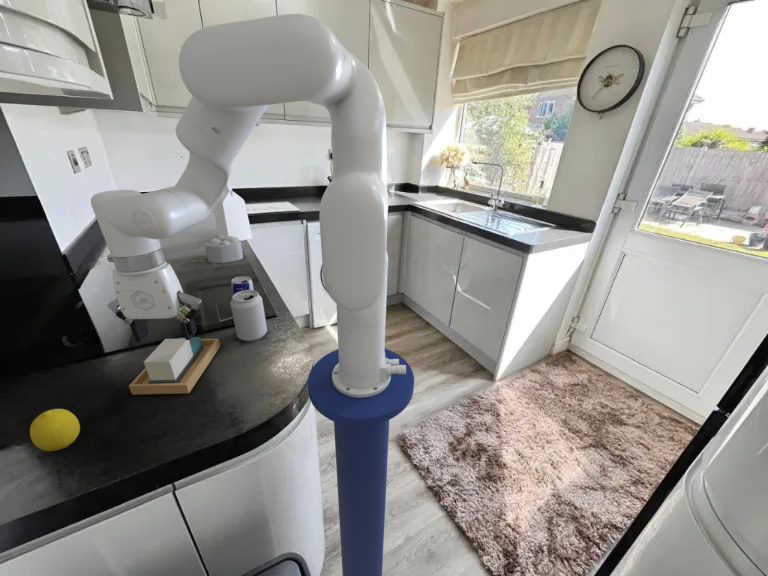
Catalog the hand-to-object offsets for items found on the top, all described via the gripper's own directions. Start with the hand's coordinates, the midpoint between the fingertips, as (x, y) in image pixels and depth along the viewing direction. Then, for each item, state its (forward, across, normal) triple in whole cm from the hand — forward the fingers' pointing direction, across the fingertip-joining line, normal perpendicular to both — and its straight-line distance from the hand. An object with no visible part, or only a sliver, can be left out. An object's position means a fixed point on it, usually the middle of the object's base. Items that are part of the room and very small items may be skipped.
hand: (167, 337), depth 67 cm
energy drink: (+10, +7, +24) cm, 27 cm away
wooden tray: (+10, -1, +2) cm, 10 cm away
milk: (+9, -23, +100) cm, 103 cm away
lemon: (+10, -10, -18) cm, 23 cm away
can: (+10, +11, +15) cm, 21 cm away
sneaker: (+9, -1, +2) cm, 9 cm away
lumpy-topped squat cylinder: (+9, -17, +72) cm, 75 cm away
